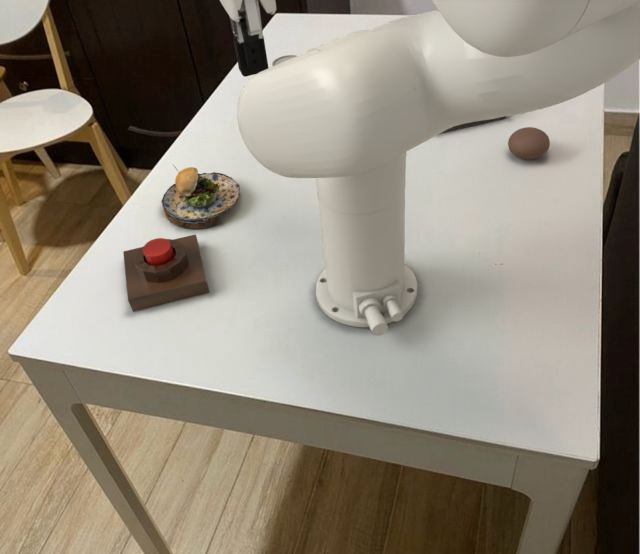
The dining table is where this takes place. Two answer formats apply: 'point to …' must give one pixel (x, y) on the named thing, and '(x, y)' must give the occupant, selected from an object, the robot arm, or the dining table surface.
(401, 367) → the dining table surface
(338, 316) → the robot arm
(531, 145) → the brown flattened ball
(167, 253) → the red push button
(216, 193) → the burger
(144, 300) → the block
